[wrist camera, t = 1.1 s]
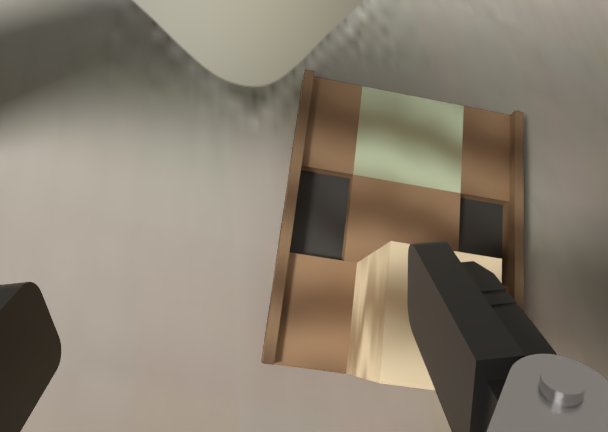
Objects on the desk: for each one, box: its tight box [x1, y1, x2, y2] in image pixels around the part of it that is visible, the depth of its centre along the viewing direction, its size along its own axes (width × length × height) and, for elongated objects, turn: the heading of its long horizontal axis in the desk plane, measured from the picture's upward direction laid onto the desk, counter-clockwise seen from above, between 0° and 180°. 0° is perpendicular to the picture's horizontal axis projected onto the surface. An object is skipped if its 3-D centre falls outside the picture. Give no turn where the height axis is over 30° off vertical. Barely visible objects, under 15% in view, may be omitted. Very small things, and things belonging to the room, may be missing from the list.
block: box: [346, 241, 502, 390], centre depth 31 cm, size 8×7×8 cm
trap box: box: [261, 70, 524, 373], centre depth 37 cm, size 23×19×2 cm
